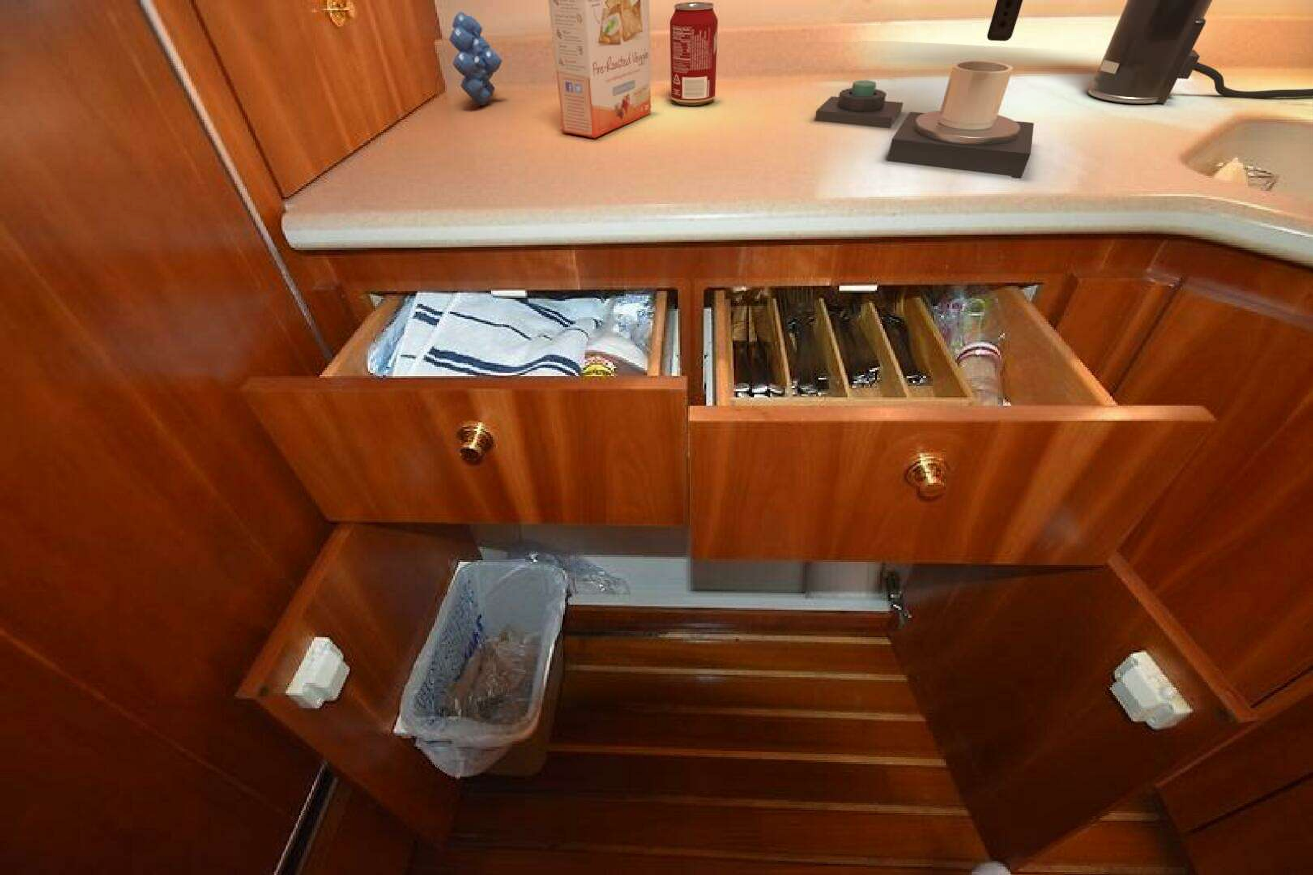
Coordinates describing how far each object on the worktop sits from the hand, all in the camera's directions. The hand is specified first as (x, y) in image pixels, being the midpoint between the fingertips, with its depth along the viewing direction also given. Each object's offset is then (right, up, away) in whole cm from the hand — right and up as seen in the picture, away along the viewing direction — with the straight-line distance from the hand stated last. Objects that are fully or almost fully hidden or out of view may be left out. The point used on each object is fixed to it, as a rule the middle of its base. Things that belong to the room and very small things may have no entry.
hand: (1000, 32), depth 60 cm
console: (-8, +2, +20) cm, 22 cm away
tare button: (-8, +4, +19) cm, 21 cm away
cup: (0, -6, +6) cm, 9 cm away
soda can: (-30, +9, +29) cm, 43 cm away
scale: (0, -9, +8) cm, 12 cm away
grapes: (-62, +10, +31) cm, 70 cm away
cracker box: (-42, +2, +21) cm, 47 cm away
